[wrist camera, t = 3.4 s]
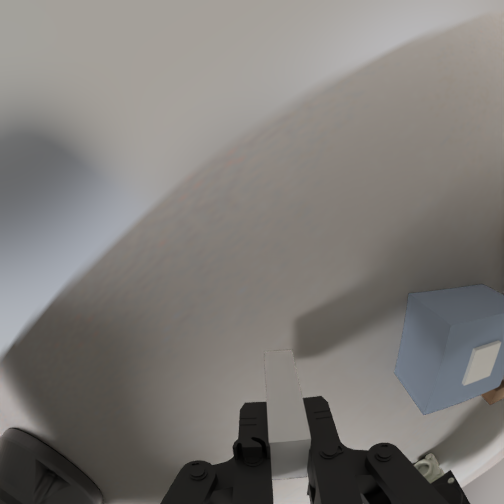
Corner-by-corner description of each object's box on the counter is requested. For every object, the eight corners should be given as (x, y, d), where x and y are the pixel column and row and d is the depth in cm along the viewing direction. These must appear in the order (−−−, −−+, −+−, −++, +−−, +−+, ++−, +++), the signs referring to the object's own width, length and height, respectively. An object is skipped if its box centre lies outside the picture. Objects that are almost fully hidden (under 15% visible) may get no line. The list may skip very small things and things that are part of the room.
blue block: (393, 371, 18) (425, 418, 12) (407, 292, 16) (454, 327, 11) (464, 354, 18) (501, 388, 12) (481, 283, 16) (528, 308, 11)
